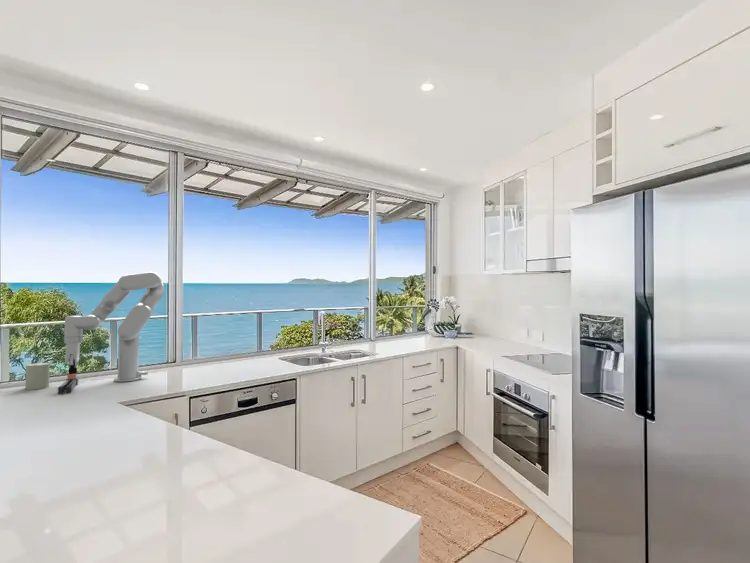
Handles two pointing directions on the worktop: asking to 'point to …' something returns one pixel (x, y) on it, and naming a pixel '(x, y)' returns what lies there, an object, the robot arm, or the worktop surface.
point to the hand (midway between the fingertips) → (72, 375)
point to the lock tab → (71, 376)
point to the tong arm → (63, 387)
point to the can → (37, 376)
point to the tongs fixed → (72, 384)
